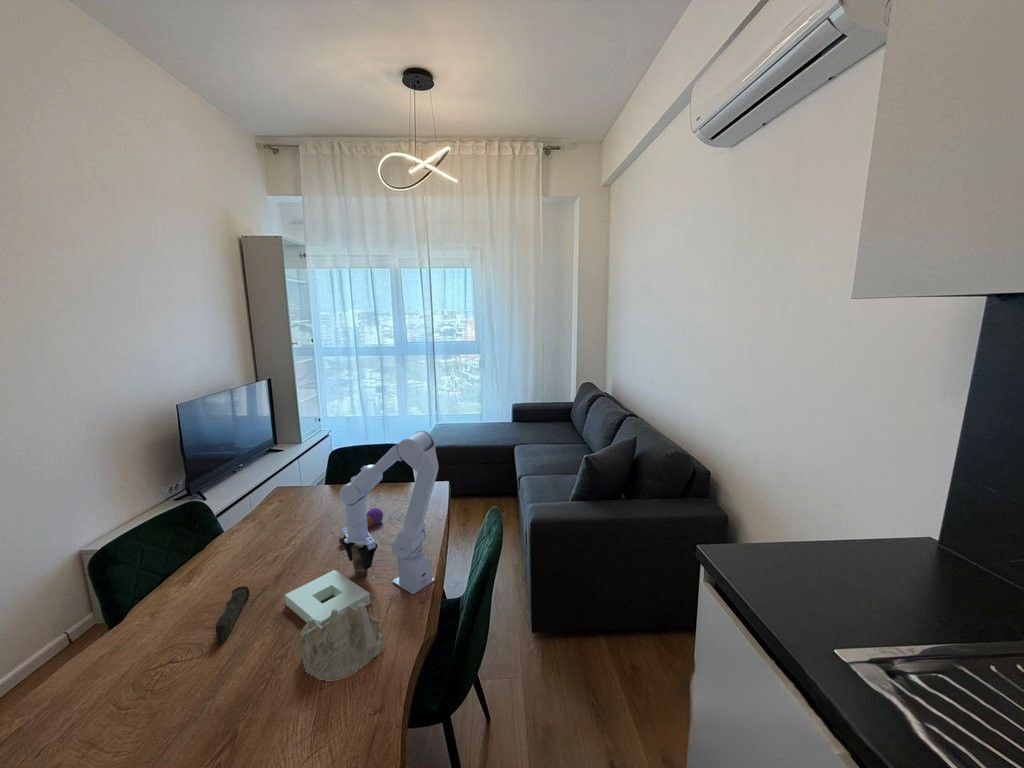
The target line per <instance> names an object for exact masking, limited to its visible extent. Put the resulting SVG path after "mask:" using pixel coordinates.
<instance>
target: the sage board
mask: <svg viewBox="0 0 1024 768" xmlns="http://www.w3.org/2000/svg"><path fill="white" fill-rule="evenodd" d="M284 596H285V597H284V598H285V605H286V606H287V607H288V608H289V609H290V610H292V611H293V613H295V614H296V615H297V616H298V617H299V618H300V619H302V620H303V621H304V622H305V623H306V624H307V622H308V620H309V618H313V619H315V620H318V621H320V622H322V621H324V620H325V619H327V618H328V617H329V616H330V615H331V612H332V609H336V610H337V611H340V613H342V612H344V611H345V613H346V611H347V609H348V606H349V605H351V606H352V607H354V608H355V609H357V606H358V605H359V603H365V605H366V607H367V606H369V605H370V604H372V603H371V594H370V592H369V591H367V590H365V589H364V587H361V586H360V585H358V584H357V583H355V582H354V581H352V580H351V579H349V578H347V576H345V575H343V574H341V573H340V572H339V571H337V570H335V569H334V570H332V571H329V572H328V573H326V574H324V575H321V576H320V577H316V578H315V579H313V580H311V581H309V582H307V583H305V584H303V585H301V586H299V587H297V588H295V589H293V590H291V591H289V592H287V593H286V594H284ZM331 596H334V597H332V598H330V599H329V600H327V601H325V602H323V601H324V600H325V599H328V598H329V597H331ZM322 602H323V603H322Z"/></svg>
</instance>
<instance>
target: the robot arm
mask: <svg viewBox="0 0 1024 768" xmlns="http://www.w3.org/2000/svg"><path fill="white" fill-rule="evenodd" d="M436 444H437V442H436V440H435V439H434V438H433V436H432V435H431V433H430V432H428V431H426V430H423V429H422V430H421V429H420V430H418V431H415V433H413V434H411V435H410V436H408V437H406V438H403V439H402V440H401V441H399V443H397V444H395V445H393V446H392V447H391V448H390V449H389V450H388V451H387V452H386V453H385V454H384V455H383V456H382V457H381V458H380V459H379V460H378V461H377V462H376V463H375V464H368V465H363V466H362V467H361V468H360V472H359V473H358V474H357V475H354V476H352V477H351V478H350V482H348V483H346V484H343V485H342V486H341V488H340V489H339V492H338V494H339V499H340V500H341V502H342V503H343V504H344V512H345V513H344V514H345V524H346V527H344V528H342V529H341V535H342V536H345V537H344V538H342V539H340V538H339V539H340V542H341V543H342V545H343V546H342V547H343V548H344V549H345V552H346V555H347V557H348V559H349V560H348V561H350V562H353V561H352V549H351V547H352V546H353V545H354V544H357V543H358V544H363V547H361V548H359V549H357V551H358V553H359V555H360V557H361V560H362V564H363V568H364V570H367V571H368V569H370V568H372V566H373V560H374V556H375V552H376V551H377V549H378V543H377V542H376V541H375V540H374V539H373V536H372V535H371V534H370V533H369V530H368V529H369V526H367V505H366V504H367V503H366V502H367V496H368V494H369V493H370V491H371V490H372V489H373V488H374V487H376V486H377V485H378V484H379V483H380V482H381V481H383V478H384V477H383V476H384V475H383V473H384V472H385V471H387V470H388V469H389V468H390V467H392V466H393V464H394V463H396V462H397V461H399V462H402V461H404V463H406V464H407V465H409V466H410V467H411V468H412V469H413V470H414V471H415V472H417V473H416V478H415V480H414V485H413V490H412V493H411V497H410V500H409V504H408V507H407V511H406V515H405V517H404V518H405V519H404V522H403V524H402V526H401V528H400V530H399V531H398V534H397V535H396V538H395V539H394V540H393V541H392V543H391V551H392V553H393V554H394V556H396V558H397V572H398V576H397V577H396V578H394V579H393V580H392V583H393V584H395V585H396V586H399V588H402V589H403V590H404V591H407V592H408V593H410V594H412V595H415V594H416V593H418V592H419V591H421V590H422V589H424V588H426V587H427V586H429V585H430V584H432V583H433V582H435V578H434V577H433V572H432V571H433V568H432V561H431V559H430V558H428V557H427V556H426V554H425V553H424V546H423V545H424V541H425V540H426V537H427V532H426V526H427V523H426V522H425V518H426V515H427V511H428V509H429V504H430V500H431V497H432V493H433V491H434V486H435V483H436V480H437V476H438V471H439V461H438V457H437V452H436Z"/></svg>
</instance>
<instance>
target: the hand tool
mask: <svg viewBox="0 0 1024 768" xmlns="http://www.w3.org/2000/svg"><path fill="white" fill-rule="evenodd" d="M231 595H232V596H230V599H229V600H228V602H226V607H225V609H224V612H223V613H222V615H221V616H219V617H218V619H217V622H216V624H215V633H216V642H217V645H218V647H220V646H221V645H223V644H224V643H225V641H226V640H227V638H229V636H230V635H231V632H232V631H233V626H234V624H235V622H236V620H237V618H238V616H239V615H240V612H241V609H242V607H243V606H244V603H245V600H246V599H248V598H249V596H250V589H249V587H247V586H238V587H236V588H234V589H233V590H232V591H231Z"/></svg>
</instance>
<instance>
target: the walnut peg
mask: <svg viewBox="0 0 1024 768" xmlns="http://www.w3.org/2000/svg"><path fill="white" fill-rule="evenodd" d="M361 547H363V544H358V543H357V544H354V545H353V546H352V547H351V549H352V561H351V562H352V565H353V568H354V571H353V572H354V578H357V579H362V578H364V577H367V575H368V573H369V572H368V571H369V570H368V569H367V570H364V568H363V564H362V560H361V557H360V555H359V553H358V551H357V549H359V548H361Z"/></svg>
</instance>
